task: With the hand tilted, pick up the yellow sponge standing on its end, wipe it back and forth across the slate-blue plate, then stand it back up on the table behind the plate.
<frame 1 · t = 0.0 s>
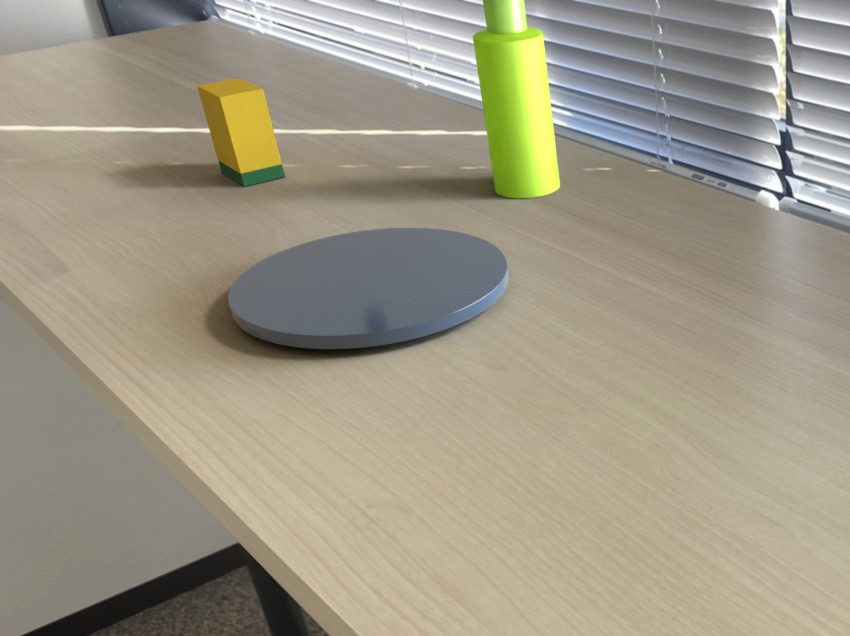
sponge: (253, 174, 110), on the table
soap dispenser: (529, 191, 105), on the table
plate: (375, 296, 86), on the table
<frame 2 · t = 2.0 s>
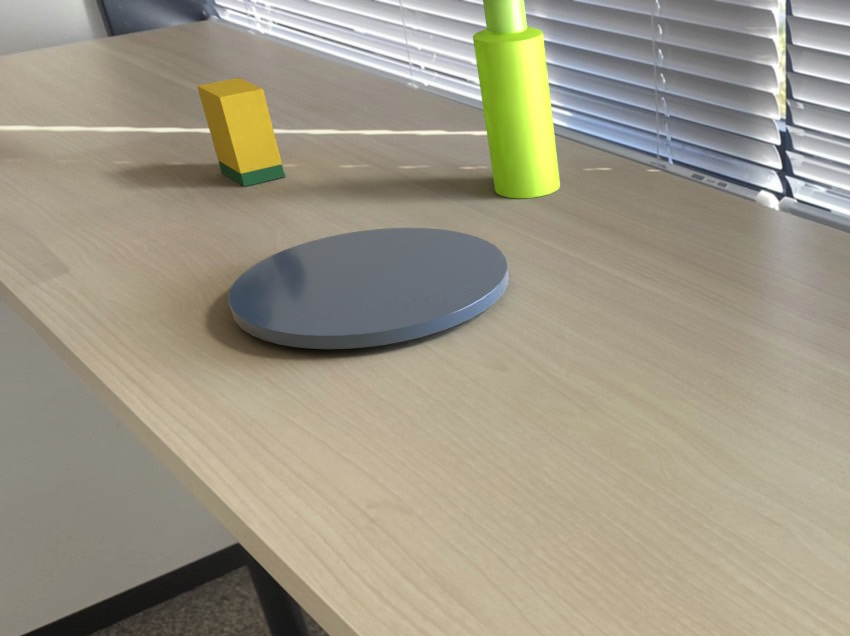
nothing on the table moved.
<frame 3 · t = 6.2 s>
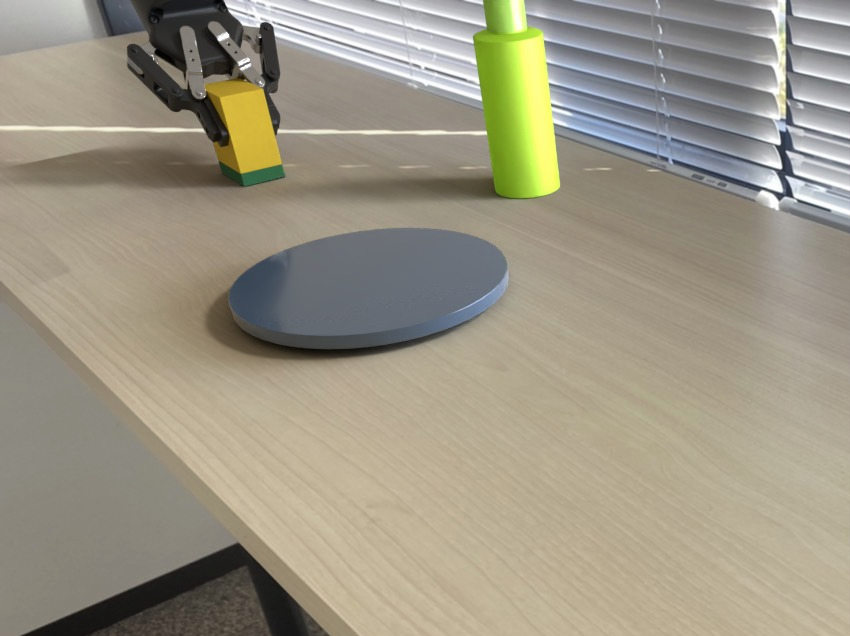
hand: (250, 135, 107), 4 cm above the table, tool tilted 45°, fingers closed on sponge, 4 cm apart
sponge: (253, 174, 110), on the table, touching gripper
everything else where it was.
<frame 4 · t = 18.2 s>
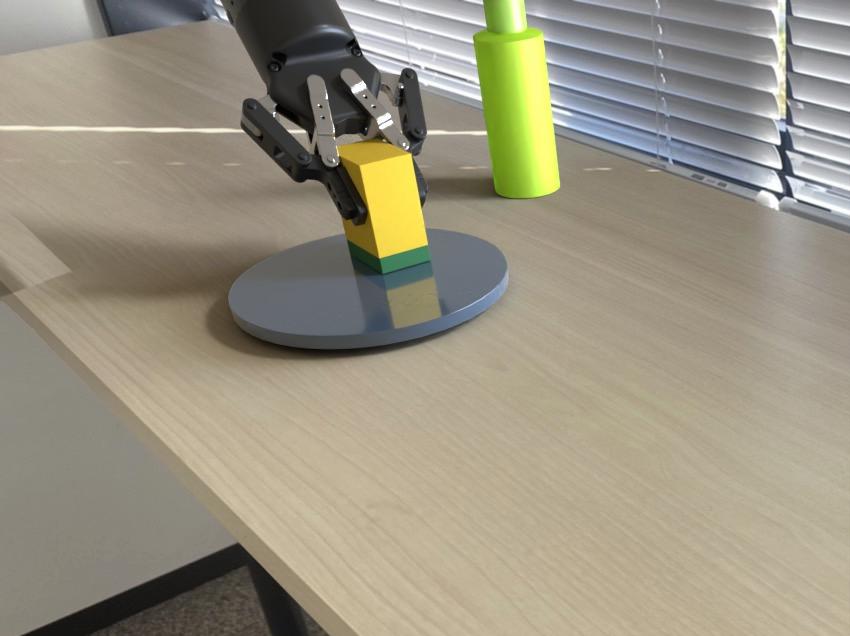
hand: (391, 211, 85), 6 cm above the table, tool tilted 45°, fingers closed on sponge, 4 cm apart
sponge: (390, 257, 88), point 2 cm above the table, touching gripper, plate
everything else where it was.
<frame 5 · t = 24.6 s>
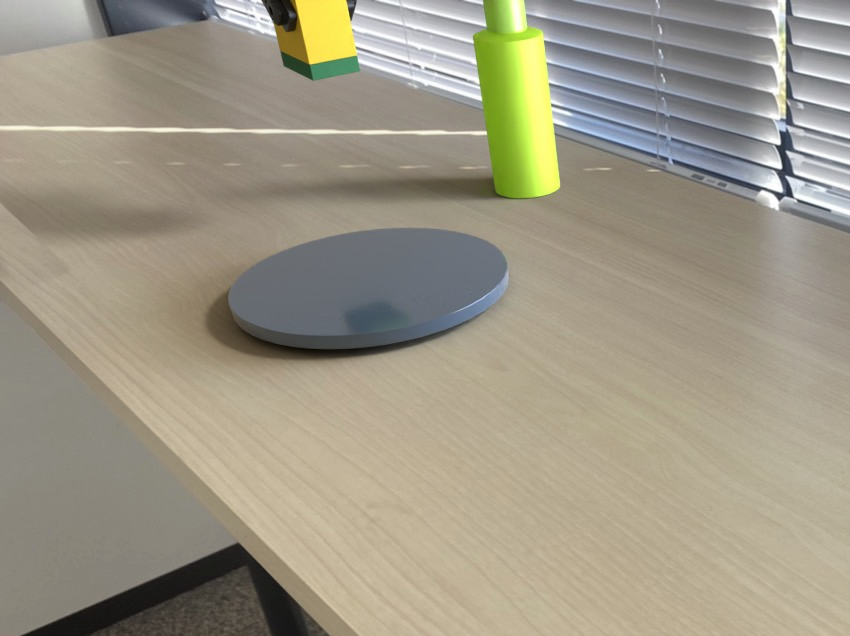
hand: (321, 19, 89), 16 cm above the table, tool tilted 45°, fingers closed on sponge, 4 cm apart
sponge: (321, 68, 93), point 12 cm above the table, touching gripper
everything else where it was.
when the fingers open (4 cm above the table, at t = 30.0 s): sponge stays where it is, on the table.
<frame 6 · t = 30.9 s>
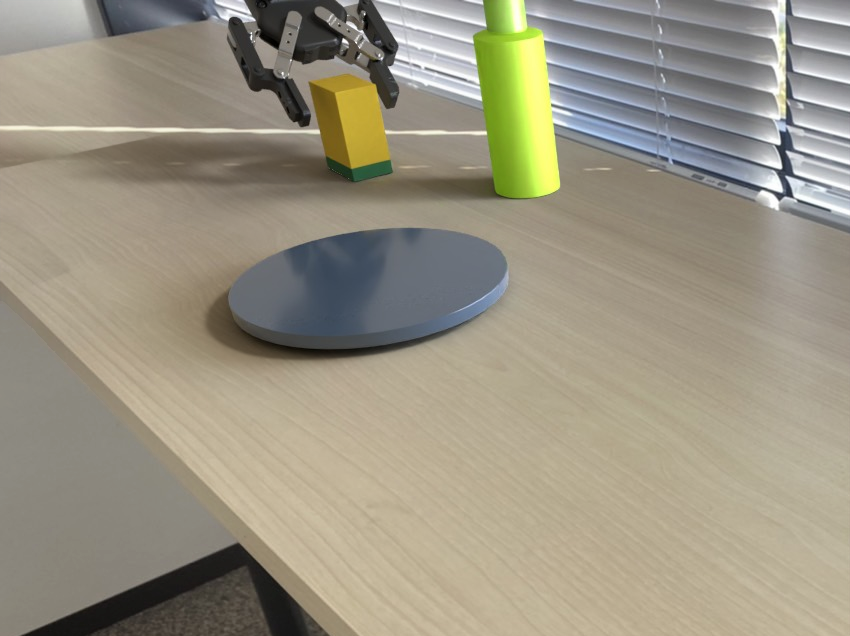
hand: (350, 112, 107), 6 cm above the table, tool tilted 45°, fingers open, 8 cm apart
sponge: (360, 170, 111), on the table
everything else where it was.
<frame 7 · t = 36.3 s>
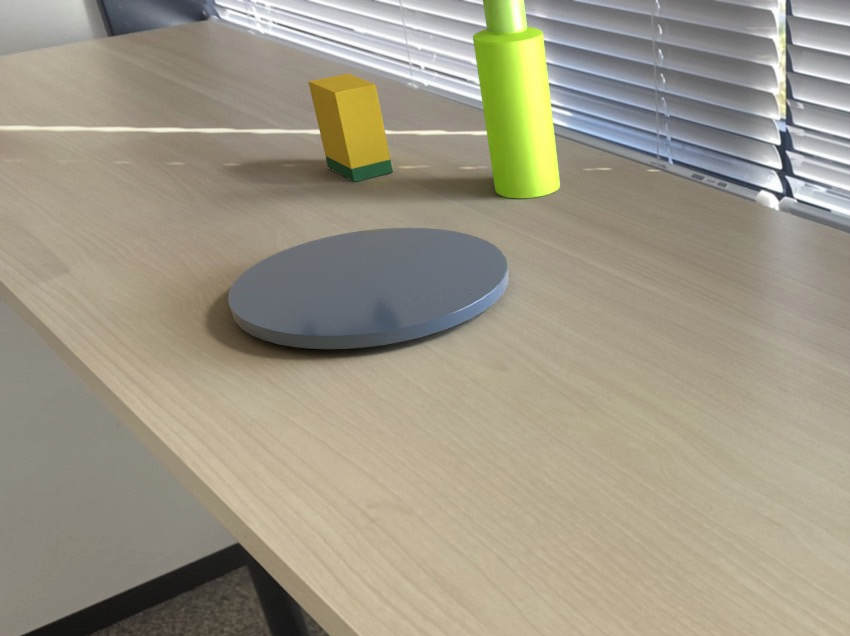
nothing on the table moved.
at the end: sponge tilted 0°; the gripper is holding nothing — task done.
